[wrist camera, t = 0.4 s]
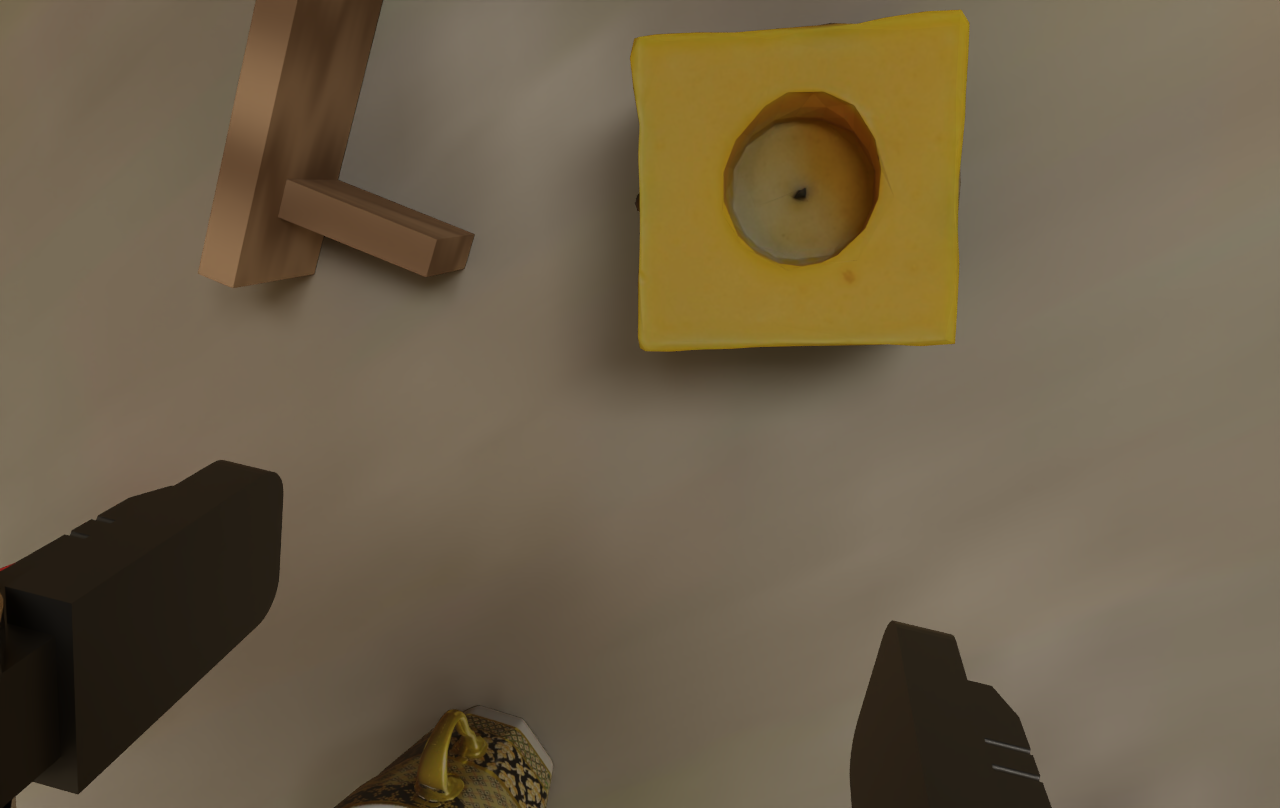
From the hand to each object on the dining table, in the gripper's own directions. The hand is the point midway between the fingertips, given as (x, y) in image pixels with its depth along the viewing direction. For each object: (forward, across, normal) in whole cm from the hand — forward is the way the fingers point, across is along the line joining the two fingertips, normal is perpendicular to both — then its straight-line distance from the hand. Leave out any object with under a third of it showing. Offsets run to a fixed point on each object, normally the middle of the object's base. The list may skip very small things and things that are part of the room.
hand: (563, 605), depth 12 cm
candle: (+29, -2, -3) cm, 29 cm away
